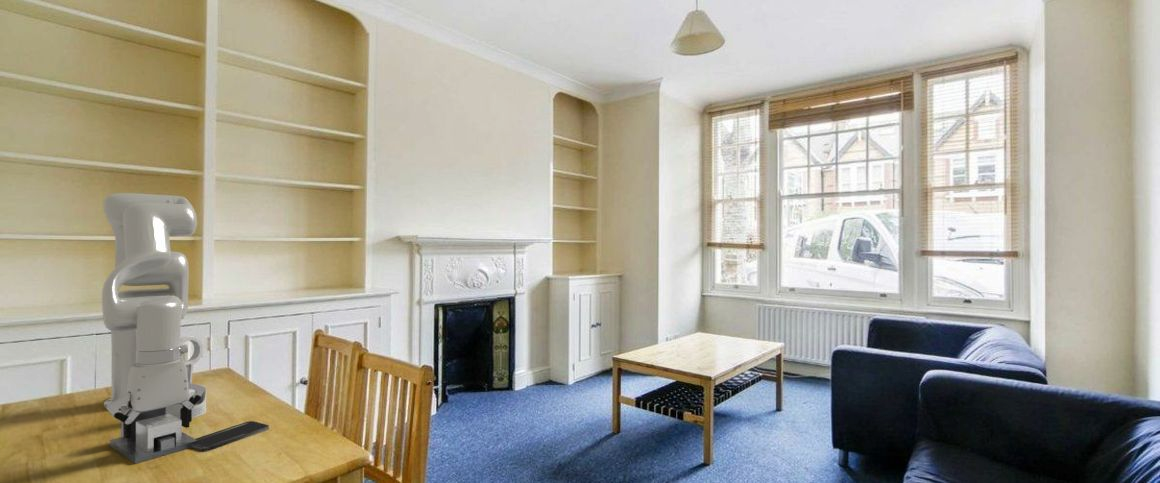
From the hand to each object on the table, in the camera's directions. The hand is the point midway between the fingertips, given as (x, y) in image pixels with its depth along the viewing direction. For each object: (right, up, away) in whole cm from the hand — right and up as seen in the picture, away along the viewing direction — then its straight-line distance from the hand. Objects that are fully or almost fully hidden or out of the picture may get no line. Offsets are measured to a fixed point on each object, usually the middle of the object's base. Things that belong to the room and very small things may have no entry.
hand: (158, 433), depth 113 cm
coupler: (-3, -3, +2) cm, 5 cm away
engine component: (-11, -3, +22) cm, 24 cm away
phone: (+11, -4, +7) cm, 14 cm away
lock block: (0, -2, 0) cm, 2 cm away
